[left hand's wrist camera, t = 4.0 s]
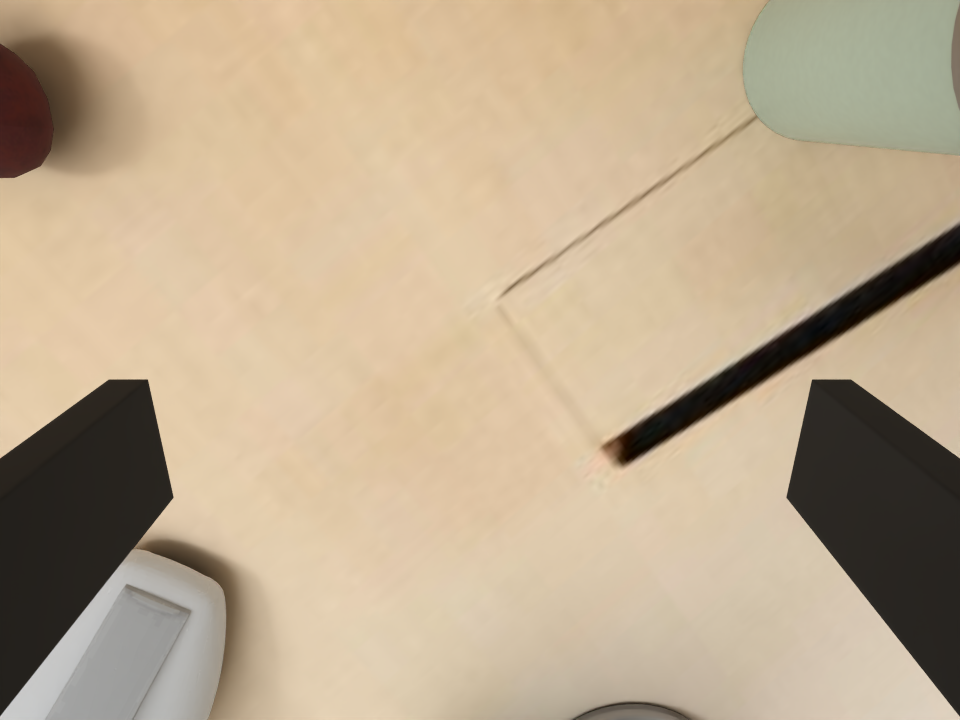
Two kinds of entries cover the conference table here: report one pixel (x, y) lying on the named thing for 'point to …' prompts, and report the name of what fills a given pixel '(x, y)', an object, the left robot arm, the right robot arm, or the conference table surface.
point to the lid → (956, 57)
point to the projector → (135, 650)
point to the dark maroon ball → (22, 118)
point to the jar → (856, 73)
